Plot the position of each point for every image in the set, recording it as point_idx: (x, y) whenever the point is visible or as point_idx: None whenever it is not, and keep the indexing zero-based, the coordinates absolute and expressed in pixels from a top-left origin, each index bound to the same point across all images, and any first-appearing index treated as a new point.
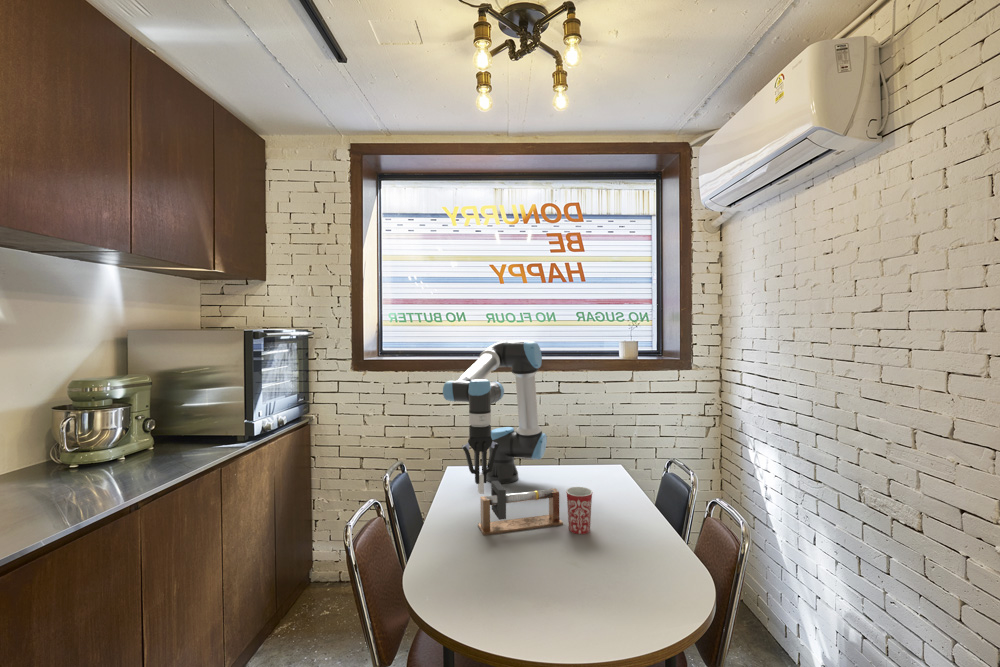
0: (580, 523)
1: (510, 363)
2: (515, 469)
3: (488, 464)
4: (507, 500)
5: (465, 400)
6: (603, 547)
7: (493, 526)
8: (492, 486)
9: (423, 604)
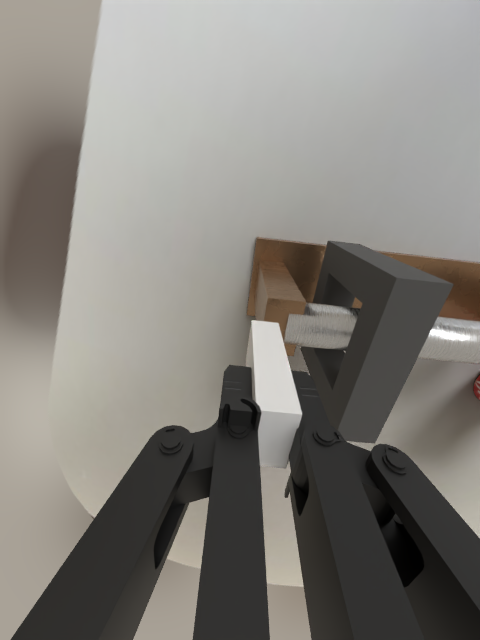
0: None
1: None
2: None
3: (417, 532)
4: None
5: None
6: (460, 456)
7: (296, 283)
8: (369, 303)
9: (78, 484)
